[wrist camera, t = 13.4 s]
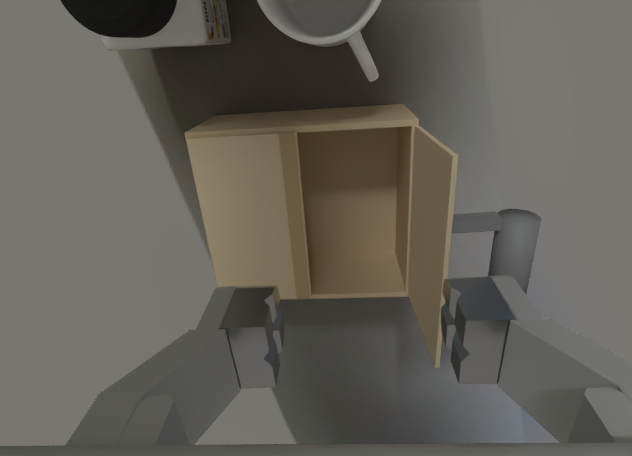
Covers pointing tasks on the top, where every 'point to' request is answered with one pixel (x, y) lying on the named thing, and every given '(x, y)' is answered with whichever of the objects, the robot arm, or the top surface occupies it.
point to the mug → (326, 24)
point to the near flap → (439, 223)
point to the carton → (308, 199)
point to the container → (153, 22)
